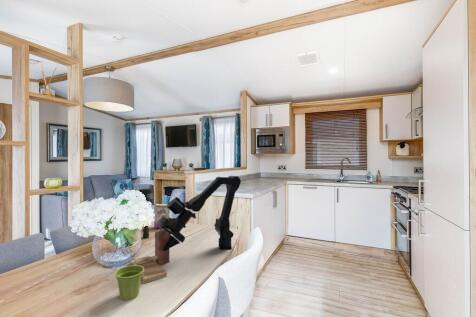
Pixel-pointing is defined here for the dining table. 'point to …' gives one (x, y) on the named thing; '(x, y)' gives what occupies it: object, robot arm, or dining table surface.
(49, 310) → the dining table surface
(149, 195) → the stick grenade
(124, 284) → the plant pot
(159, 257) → the upright wooden block
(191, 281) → the dining table surface
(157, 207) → the candy bar box
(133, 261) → the board
